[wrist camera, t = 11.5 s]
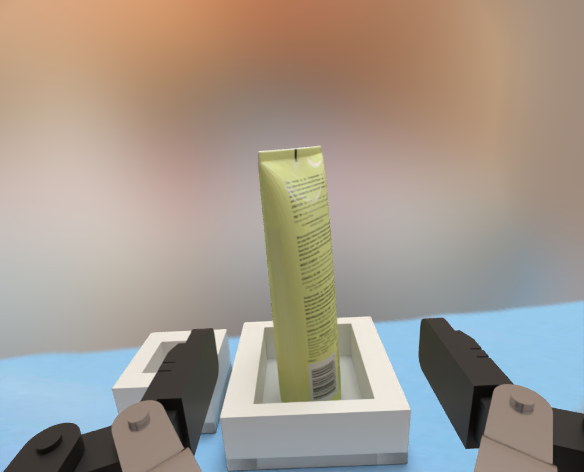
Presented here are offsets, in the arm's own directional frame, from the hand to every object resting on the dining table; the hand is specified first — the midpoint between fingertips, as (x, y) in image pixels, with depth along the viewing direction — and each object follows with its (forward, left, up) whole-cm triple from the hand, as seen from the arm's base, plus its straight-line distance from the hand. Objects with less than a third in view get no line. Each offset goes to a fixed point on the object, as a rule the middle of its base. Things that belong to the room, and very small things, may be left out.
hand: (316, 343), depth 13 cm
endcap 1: (-11, +12, -14) cm, 21 cm away
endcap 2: (0, +11, -14) cm, 17 cm away
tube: (0, +11, -13) cm, 17 cm away
